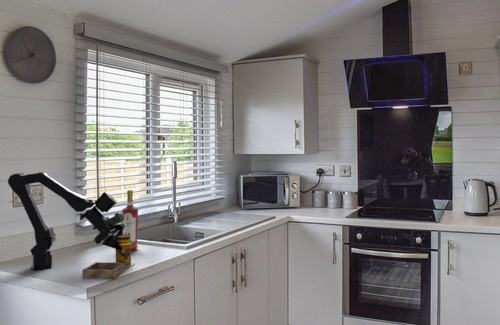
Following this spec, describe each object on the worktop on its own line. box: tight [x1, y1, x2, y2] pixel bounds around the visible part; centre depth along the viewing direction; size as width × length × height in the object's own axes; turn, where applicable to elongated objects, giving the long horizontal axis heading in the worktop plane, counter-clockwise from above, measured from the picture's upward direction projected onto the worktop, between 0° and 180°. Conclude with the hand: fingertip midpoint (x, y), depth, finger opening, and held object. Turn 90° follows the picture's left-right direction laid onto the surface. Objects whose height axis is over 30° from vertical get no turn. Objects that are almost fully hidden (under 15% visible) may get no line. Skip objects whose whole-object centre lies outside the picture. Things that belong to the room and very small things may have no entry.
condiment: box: [115, 235, 135, 269], centre depth 182 cm, size 7×8×12 cm
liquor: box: [121, 189, 139, 252], centre depth 208 cm, size 7×7×28 cm
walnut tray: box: [81, 261, 127, 280], centre depth 170 cm, size 12×11×3 cm
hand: (124, 248), depth 181 cm, fingers closed on condiment, 6 cm apart
